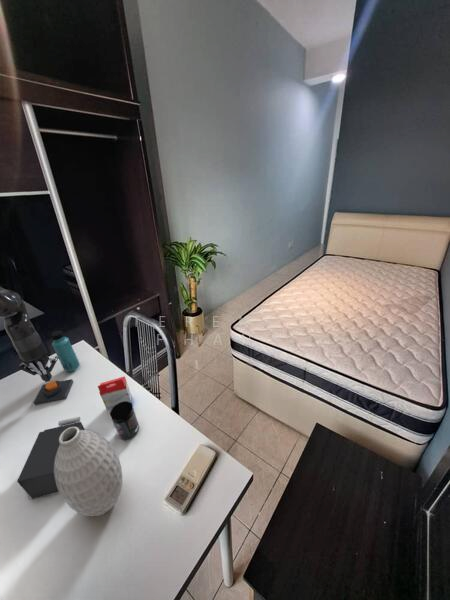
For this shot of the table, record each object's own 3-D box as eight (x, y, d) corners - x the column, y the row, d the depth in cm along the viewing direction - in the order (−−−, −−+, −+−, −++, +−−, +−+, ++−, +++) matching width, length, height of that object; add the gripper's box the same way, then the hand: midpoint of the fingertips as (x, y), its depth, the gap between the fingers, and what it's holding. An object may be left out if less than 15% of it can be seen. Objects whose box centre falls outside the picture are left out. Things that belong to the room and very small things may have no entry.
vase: (115, 463, 73) (85, 399, 60) (140, 494, 66) (112, 429, 53) (71, 504, 65) (24, 439, 51) (93, 544, 58) (46, 481, 44)
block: (35, 405, 94) (31, 399, 92) (44, 387, 101) (41, 381, 100) (66, 399, 96) (63, 392, 94) (73, 381, 103) (70, 375, 102)
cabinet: (51, 450, 78) (39, 432, 74) (90, 440, 80) (81, 422, 76) (32, 499, 66) (16, 481, 62) (78, 486, 68) (66, 468, 64)
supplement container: (122, 421, 86) (115, 401, 81) (142, 421, 85) (135, 400, 80) (115, 441, 80) (106, 420, 75) (135, 440, 80) (128, 419, 75)
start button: (45, 392, 95) (43, 389, 94) (49, 385, 98) (47, 382, 97) (55, 390, 96) (53, 387, 95) (58, 383, 99) (57, 380, 98)
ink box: (132, 397, 95) (123, 369, 88) (133, 407, 91) (123, 379, 84) (109, 405, 92) (97, 376, 85) (108, 416, 88) (96, 387, 81)
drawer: (58, 431, 83) (49, 417, 79) (91, 424, 84) (84, 410, 81) (36, 487, 68) (25, 473, 65) (77, 476, 70) (68, 462, 66)
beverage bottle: (79, 361, 114) (63, 326, 105) (82, 369, 110) (66, 333, 100) (63, 368, 111) (45, 332, 101) (66, 376, 106) (48, 339, 97)
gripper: (53, 334, 91) (70, 369, 99) (13, 341, 88) (33, 376, 97) (45, 347, 84) (63, 383, 93) (1, 354, 82) (24, 391, 90)
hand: (48, 379), depth 95 cm, fingers closed
